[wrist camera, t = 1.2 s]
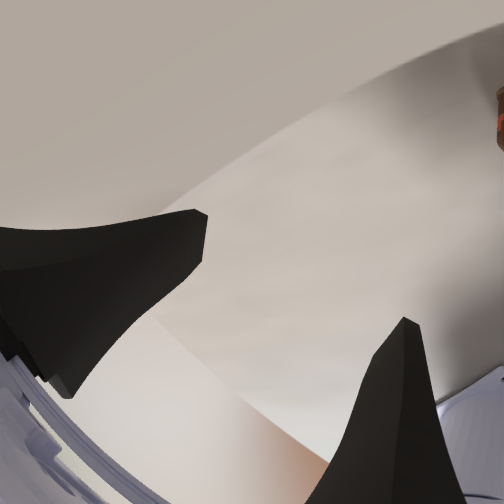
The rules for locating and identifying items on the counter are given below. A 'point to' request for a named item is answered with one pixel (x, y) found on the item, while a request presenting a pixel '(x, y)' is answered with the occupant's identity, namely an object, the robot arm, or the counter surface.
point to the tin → (500, 118)
